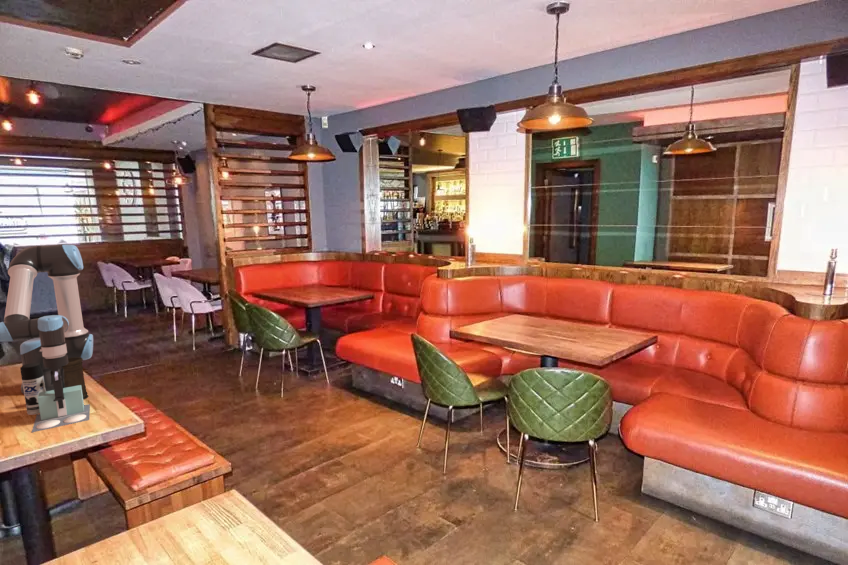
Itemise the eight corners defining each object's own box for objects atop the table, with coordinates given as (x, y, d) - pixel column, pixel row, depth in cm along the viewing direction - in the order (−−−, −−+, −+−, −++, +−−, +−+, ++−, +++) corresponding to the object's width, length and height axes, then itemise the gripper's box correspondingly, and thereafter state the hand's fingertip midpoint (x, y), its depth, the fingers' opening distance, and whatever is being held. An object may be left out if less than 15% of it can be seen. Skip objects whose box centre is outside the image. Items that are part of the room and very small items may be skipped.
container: (75, 405, 195) (69, 363, 192) (57, 404, 197) (51, 362, 194) (94, 397, 204) (88, 357, 201) (76, 396, 206) (71, 356, 203)
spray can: (23, 418, 184) (16, 368, 181) (32, 411, 191) (25, 363, 188) (44, 415, 186) (36, 366, 183) (52, 408, 193) (45, 361, 190)
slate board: (37, 417, 185) (34, 400, 184) (90, 406, 194) (87, 390, 193) (31, 435, 170) (29, 416, 169) (89, 422, 179) (87, 404, 178)
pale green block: (42, 414, 185) (39, 392, 183) (84, 406, 192) (81, 384, 191) (41, 420, 179) (37, 397, 178) (83, 411, 187) (80, 389, 185)
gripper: (44, 351, 188) (53, 406, 192) (40, 364, 172) (49, 423, 176) (68, 348, 192) (75, 402, 196) (65, 360, 176) (74, 418, 180)
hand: (63, 412), depth 186 cm, fingers open, 7 cm apart
